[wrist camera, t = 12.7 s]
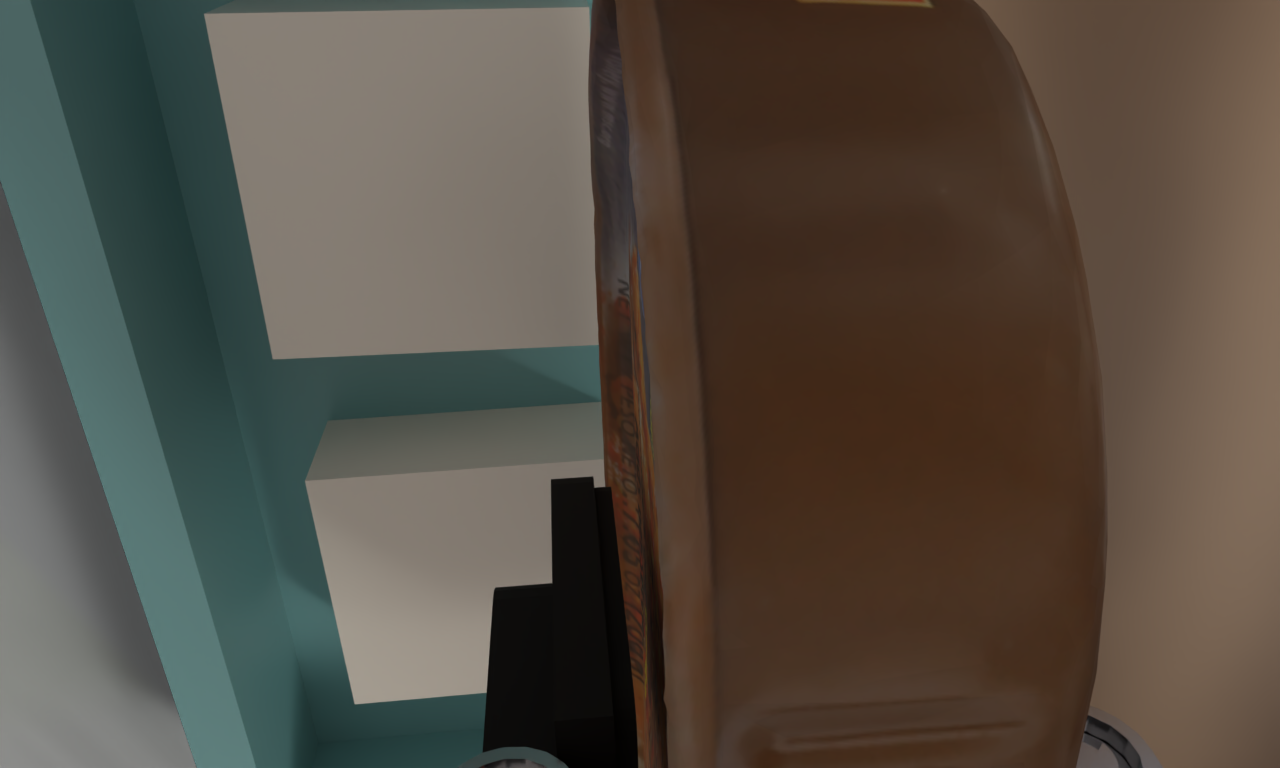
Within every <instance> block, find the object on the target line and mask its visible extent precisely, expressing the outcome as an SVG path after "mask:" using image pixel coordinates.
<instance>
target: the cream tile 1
mask: <svg viewBox="0 0 1280 768" xmlns="http://www.w3.org/2000/svg"><path fill="white" fill-rule="evenodd" d="M204 16H205V21H206V26H207V32H208V37H209V42H210V47H211V52H212V57H213V62H214V67H215V72H216V77H217V82H218V87H219V92H220V97H221V102H222V107H223V112H224V117H225V122H226V127H227V132H228V137H229V142H230V147H231V152H232V157H233V162H234V167H235V172H236V177H237V182H238V187H239V192H240V197H241V202H242V207H243V212H244V217H245V222H246V227H247V232H248V237H249V242H250V247H251V252H252V257H253V262H254V267H255V272H256V277H257V282H258V287H259V292H260V297H261V303H262V308H263V313H264V318H265V323H266V328H267V333H268V338H269V343H270V348H271V353H272V358H273V359H294V358H316V357H339V356H361V355H384V354H406V353H429V352H451V351H474V350H496V349H519V348H541V347H564V346H586V345H599V342H598V321H597V298H596V276H595V236H594V201H593V193H592V180H591V153H590V128H589V103H588V76H589V48H590V16H589V5H588V2H587V0H234V1H232V2H230V3H227V4H225V5H223V6H221V7H218V8H216V9H214V10H211V11H209V12H207V13H205V14H204Z"/></svg>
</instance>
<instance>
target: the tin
mask: <svg viewBox="0 0 1280 768" xmlns="http://www.w3.org/2000/svg"><path fill="white" fill-rule="evenodd" d="M588 103H589V128H590V153H591V180H592V193H593V201H594V236H595V276H596V298H597V321H598V342H599V368H600V385H601V406H602V429H603V446H604V477H605V487H611V490H612V499H613V508H614V517H615V526H616V535H617V544H618V553H619V562H620V571H621V580H622V589H623V598H624V607H625V616H626V624H627V633H628V642H629V651H630V660H631V669H632V678H633V687H634V697H635V709H636V723H637V742H638V768H1076V766H1077V761H1078V757H1079V752H1080V748H1081V743H1082V739H1083V734H1084V730H1085V725H1086V720H1087V716H1088V711H1089V706H1090V702H1091V697H1092V692H1093V688H1094V683H1095V678H1096V674H1097V664H1098V653H1099V643H1100V633H1101V623H1102V613H1103V602H1104V592H1105V579H1106V560H1107V541H1108V532H1107V458H1106V440H1105V422H1104V404H1103V387H1102V375H1101V368H1100V362H1099V355H1098V349H1097V342H1096V336H1095V329H1094V323H1093V316H1092V310H1091V303H1090V297H1089V290H1088V284H1087V278H1086V273H1085V268H1084V263H1083V257H1082V252H1081V247H1080V242H1079V237H1078V232H1077V228H1076V225H1075V221H1074V217H1073V214H1072V210H1071V207H1070V203H1069V200H1068V196H1067V192H1066V189H1065V185H1064V182H1063V178H1062V175H1061V171H1060V167H1059V164H1058V160H1057V157H1056V153H1055V150H1054V146H1053V144H1052V141H1051V139H1050V136H1049V133H1048V131H1047V128H1046V126H1045V123H1044V120H1043V118H1042V115H1041V113H1040V110H1039V107H1038V105H1037V102H1036V100H1035V97H1034V94H1033V92H1032V89H1031V87H1030V85H1029V82H1028V80H1027V78H1026V76H1025V74H1024V71H1023V69H1022V67H1021V65H1020V63H1019V61H1018V58H1017V56H1016V54H1015V52H1014V50H1013V47H1012V46H1011V44H1010V43H1009V42H1008V40H1007V39H1006V38H1005V36H1004V35H1003V34H1002V32H1001V31H1000V30H999V28H998V27H997V26H996V24H995V23H994V22H993V20H992V19H991V18H990V16H989V15H988V14H987V12H986V11H985V10H984V9H982V8H981V7H980V6H979V5H978V4H977V3H976V2H975V1H973V0H593V2H592V9H591V33H590V48H589V76H588Z"/></svg>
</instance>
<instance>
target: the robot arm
mask: <svg viewBox="0 0 1280 768" xmlns="http://www.w3.org/2000/svg"><path fill="white" fill-rule="evenodd" d="M551 534H552V583H547V584H534V585H521V586H508V587H495V589H494V594H493V605H492V620H491V635H490V649H489V664H488V678H487V693H486V708H485V722H484V737H483V752H482V753H481V754H479V755H477V756H475V757H473V758H471V759H470V760H468V761H466V762H464V763H462V764H461V765H460V766H459V767H458V768H638V742H637V723H636V709H635V697H634V687H633V678H632V669H631V660H630V651H629V642H628V633H627V624H626V616H625V607H624V598H623V589H622V580H621V571H620V562H619V553H618V544H617V535H616V526H615V517H614V508H613V499H612V490H611V487H597V488H594V478H593V476H591V477H576V478H562V479H551ZM1076 768H1163V767H1162V765H1161V764H1160V762H1159V760H1158V759H1157V757H1156V756H1155V754H1154V752H1153V751H1152V750H1151V748H1150V747H1149V746H1148V745H1147V743H1146V742H1145V741H1144V740H1143V739H1142V737H1141V736H1140V735H1139V734H1138V733H1137V732H1136V731H1134V730H1133V729H1132V728H1130V727H1129V726H1128V725H1127V724H1125V723H1124V722H1123V721H1121V720H1120V719H1119V718H1117V717H1115V716H1113V715H1111V714H1109V713H1107V712H1105V711H1103V710H1101V709H1099V708H1096V707H1092V706H1089V711H1088V716H1087V720H1086V725H1085V730H1084V734H1083V739H1082V743H1081V748H1080V752H1079V757H1078V761H1077V766H1076Z"/></svg>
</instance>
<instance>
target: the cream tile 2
mask: <svg viewBox="0 0 1280 768" xmlns="http://www.w3.org/2000/svg"><path fill="white" fill-rule="evenodd" d="M591 476H593V478H594V488H597V487H605V477H604V446H603V429H602V406H601V402H590V403H576V404H561V405H547V406H532V407H518V408H503V409H489V410H474V411H460V412H445V413H431V414H417V415H402V416H388V417H373V418H359V419H344V420H330V421H327V424H326V427H325V429H324V432H323V435H322V437H321V440H320V443H319V445H318V448H317V450H316V453H315V456H314V458H313V461H312V464H311V466H310V469H309V472H308V474H307V477H306V480H305V484H306V488H307V493H308V497H309V502H310V506H311V510H312V515H313V519H314V524H315V528H316V533H317V537H318V542H319V546H320V551H321V555H322V560H323V564H324V569H325V573H326V578H327V582H328V587H329V591H330V596H331V600H332V605H333V609H334V614H335V618H336V623H337V627H338V632H339V636H340V641H341V645H342V650H343V654H344V659H345V663H346V667H347V672H348V676H349V681H350V685H351V690H352V694H353V699H354V703H355V704H364V703H376V702H387V701H398V700H410V699H421V698H432V697H443V696H455V695H466V694H477V693H487V678H488V664H489V649H490V635H491V620H492V605H493V594H494V589H495V587H508V586H521V585H534V584H547V583H552V534H551V479H562V478H576V477H591Z"/></svg>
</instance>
